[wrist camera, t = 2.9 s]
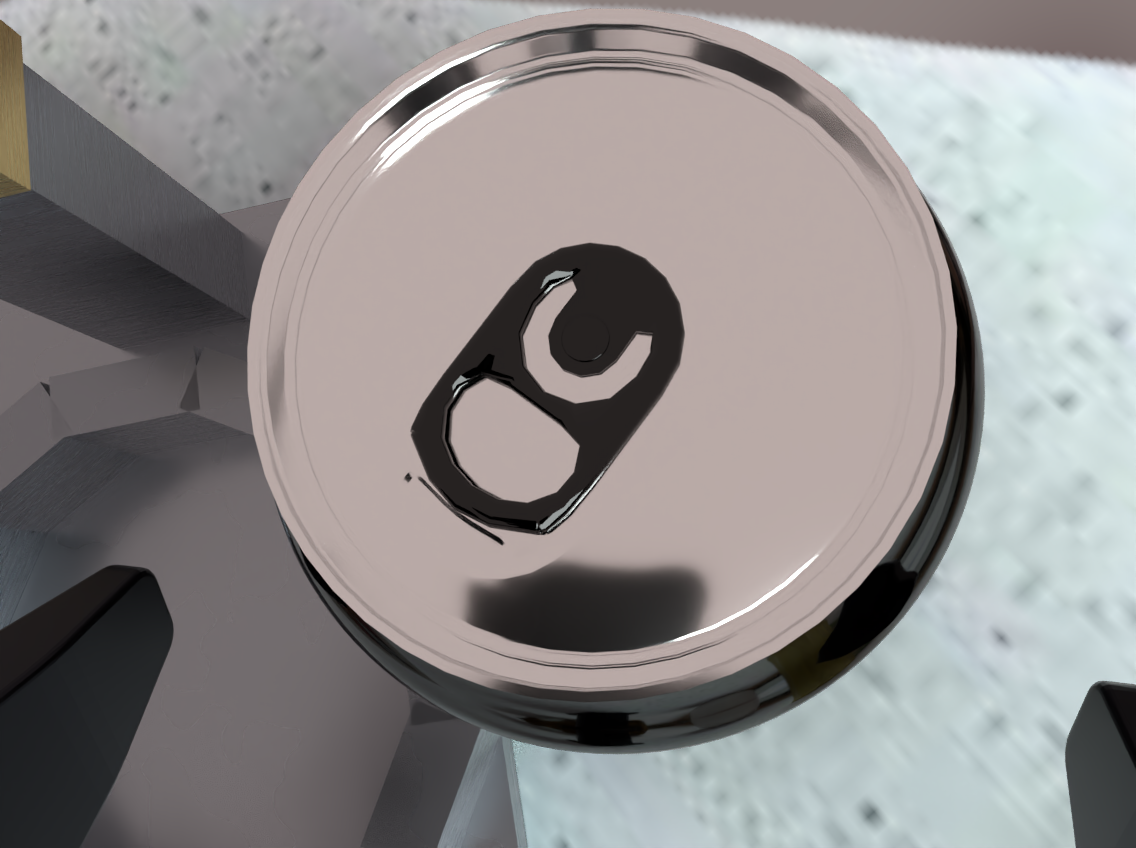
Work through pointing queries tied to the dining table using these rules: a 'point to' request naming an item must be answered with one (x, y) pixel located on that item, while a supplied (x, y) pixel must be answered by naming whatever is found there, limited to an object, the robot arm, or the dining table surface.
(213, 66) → the dining table surface
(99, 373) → the keeper seat
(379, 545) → the beverage can
